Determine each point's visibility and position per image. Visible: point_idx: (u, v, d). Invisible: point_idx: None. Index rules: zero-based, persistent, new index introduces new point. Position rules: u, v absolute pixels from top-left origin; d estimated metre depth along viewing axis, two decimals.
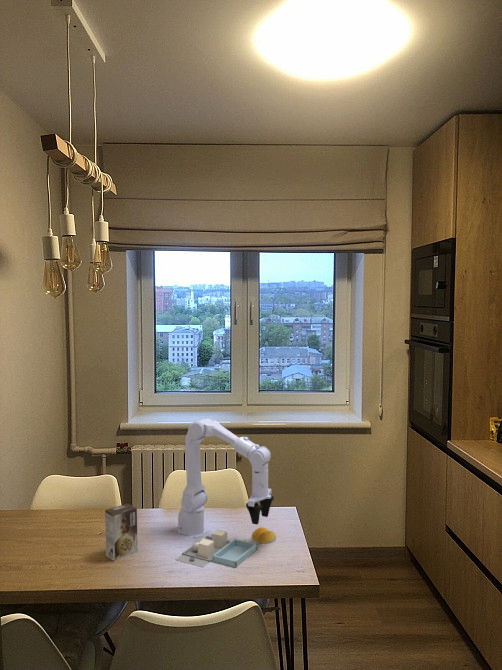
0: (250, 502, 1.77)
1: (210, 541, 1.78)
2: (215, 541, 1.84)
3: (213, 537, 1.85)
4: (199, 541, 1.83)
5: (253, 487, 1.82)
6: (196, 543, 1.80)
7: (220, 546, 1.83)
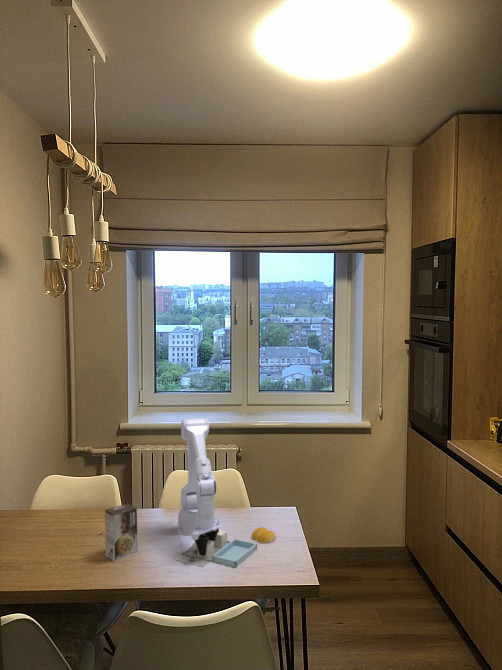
0: (193, 535, 1.71)
1: (210, 541, 1.78)
2: (215, 541, 1.84)
3: None
4: None
5: (198, 519, 1.76)
6: None
7: (220, 546, 1.83)
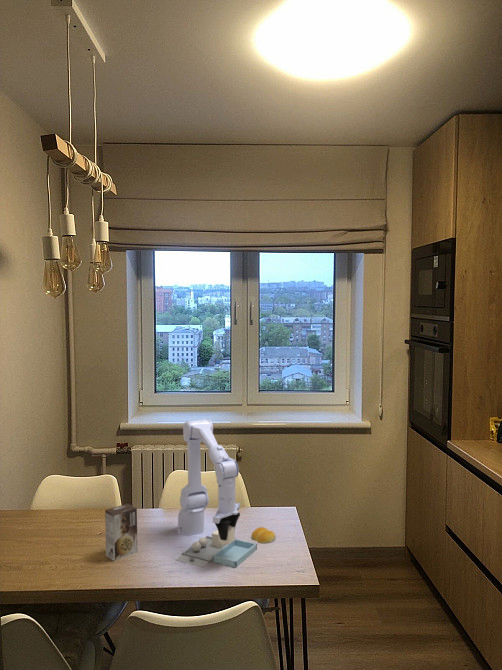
0: (215, 519, 1.67)
1: (231, 527, 1.74)
2: (215, 541, 1.84)
3: (213, 537, 1.85)
4: (199, 541, 1.83)
5: (219, 502, 1.72)
6: (196, 543, 1.80)
7: (220, 546, 1.83)
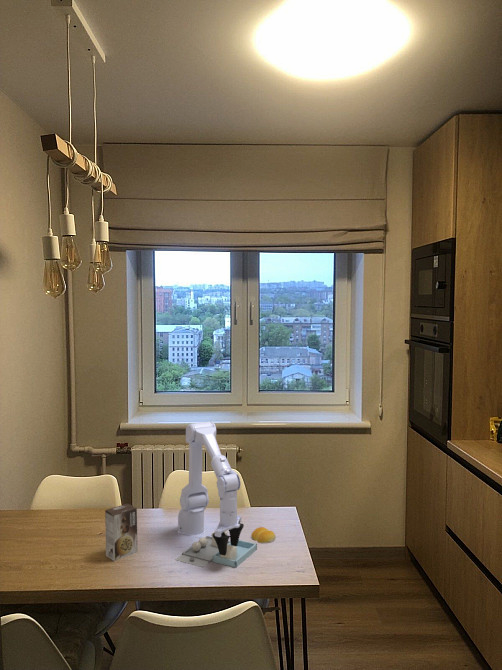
0: (217, 532, 1.67)
1: (233, 547, 1.74)
2: (215, 541, 1.84)
3: None
4: (199, 541, 1.83)
5: (221, 515, 1.72)
6: (196, 543, 1.80)
7: None
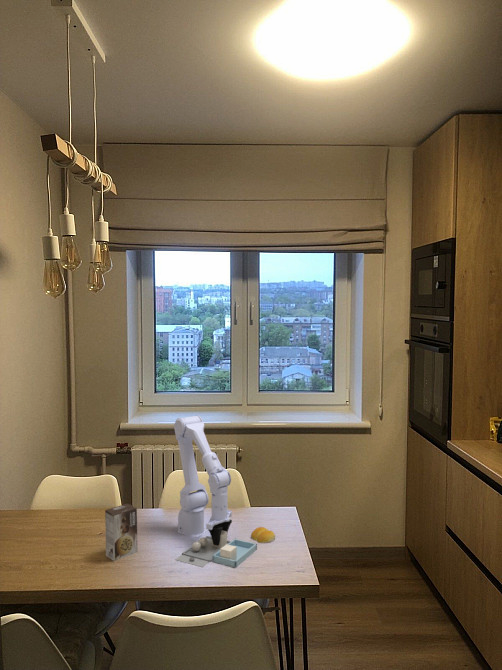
0: (208, 525, 1.79)
1: (233, 547, 1.74)
2: None
3: None
4: (199, 541, 1.83)
5: (212, 510, 1.84)
6: (196, 543, 1.80)
7: (220, 546, 1.83)
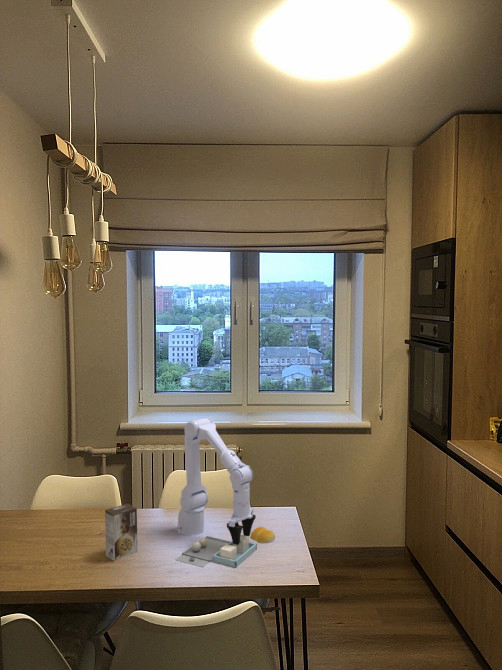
0: (230, 522, 1.75)
1: (233, 547, 1.74)
2: (237, 546, 1.80)
3: None
4: (199, 541, 1.83)
5: (234, 506, 1.80)
6: (196, 543, 1.80)
7: (242, 551, 1.79)
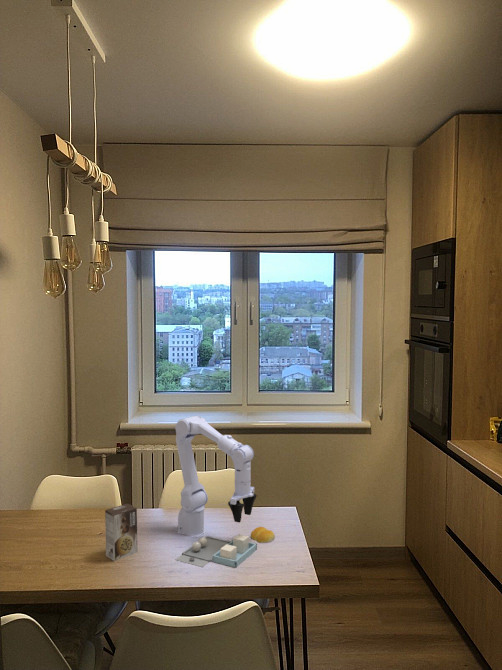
0: (232, 500, 1.78)
1: (233, 547, 1.74)
2: (237, 546, 1.80)
3: (234, 542, 1.80)
4: (199, 541, 1.83)
5: (235, 485, 1.83)
6: (196, 543, 1.80)
7: (242, 551, 1.79)
